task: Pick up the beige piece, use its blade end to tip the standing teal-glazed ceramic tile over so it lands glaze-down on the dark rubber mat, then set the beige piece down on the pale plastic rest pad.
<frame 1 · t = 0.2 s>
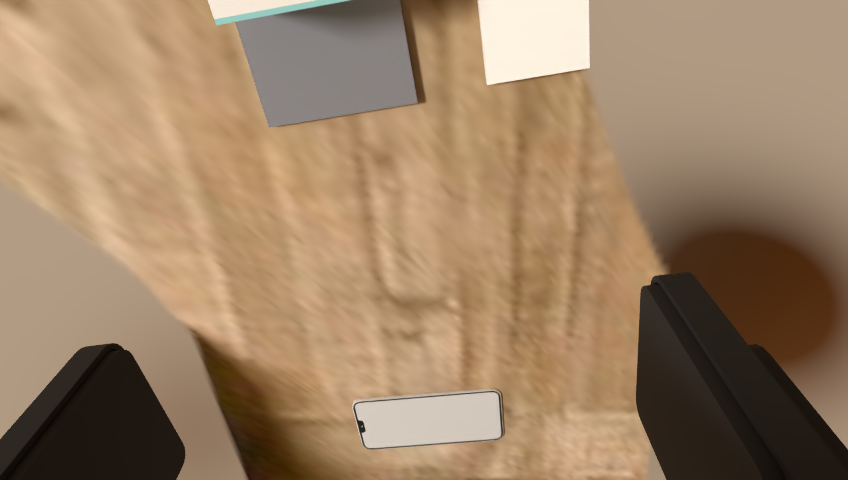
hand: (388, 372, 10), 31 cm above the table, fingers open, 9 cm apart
smartphone: (429, 415, 55), on the table
mat: (322, 26, 35), on the table
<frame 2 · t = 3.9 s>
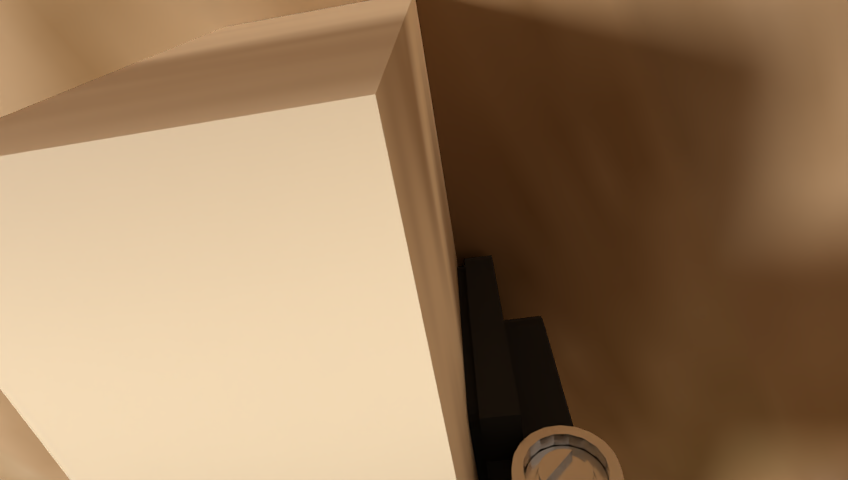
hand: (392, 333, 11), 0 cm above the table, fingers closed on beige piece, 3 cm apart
beige piece: (393, 321, 11), on the table, touching gripper
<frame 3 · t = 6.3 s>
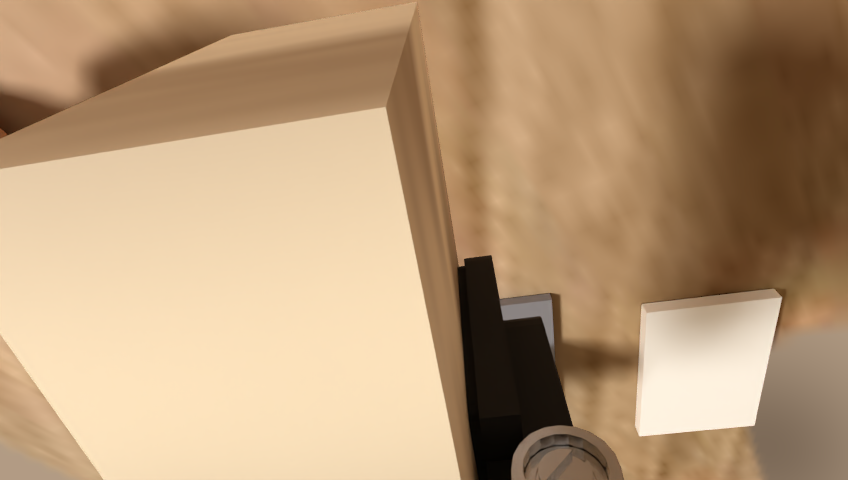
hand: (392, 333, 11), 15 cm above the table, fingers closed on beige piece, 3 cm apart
beige piece: (395, 320, 11), point 15 cm above the table, touching gripper
mat: (464, 382, 33), on the table
rest pad: (698, 363, 31), on the table
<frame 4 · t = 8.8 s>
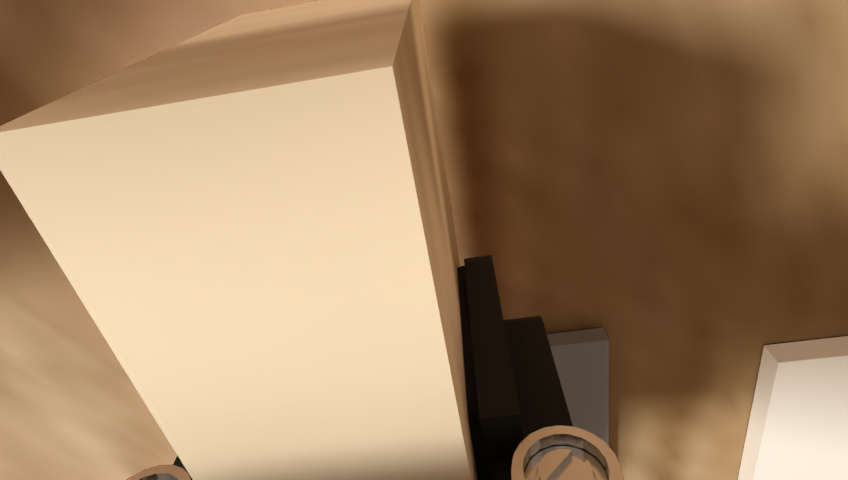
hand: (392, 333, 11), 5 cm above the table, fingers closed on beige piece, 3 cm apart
beige piece: (395, 288, 12), point 3 cm above the table, touching gripper
mat: (455, 468, 20), on the table
rest pad: (845, 440, 19), on the table
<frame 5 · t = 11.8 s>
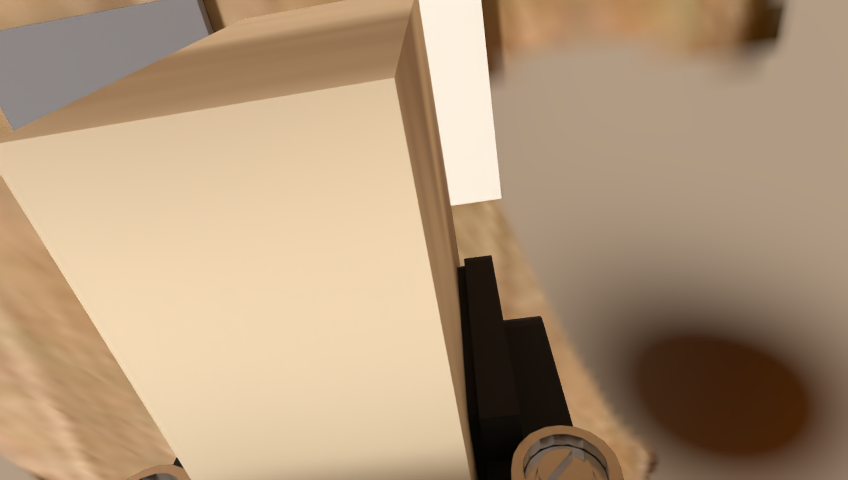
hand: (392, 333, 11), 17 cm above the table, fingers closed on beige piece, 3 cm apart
beige piece: (396, 291, 12), point 15 cm above the table, touching gripper
mat: (140, 142, 26), on the table
rest pad: (417, 108, 25), on the table
when the fingers open (3 cm above the table, at t = 14.6 s): beige piece stays where it is, resting on rest pad.
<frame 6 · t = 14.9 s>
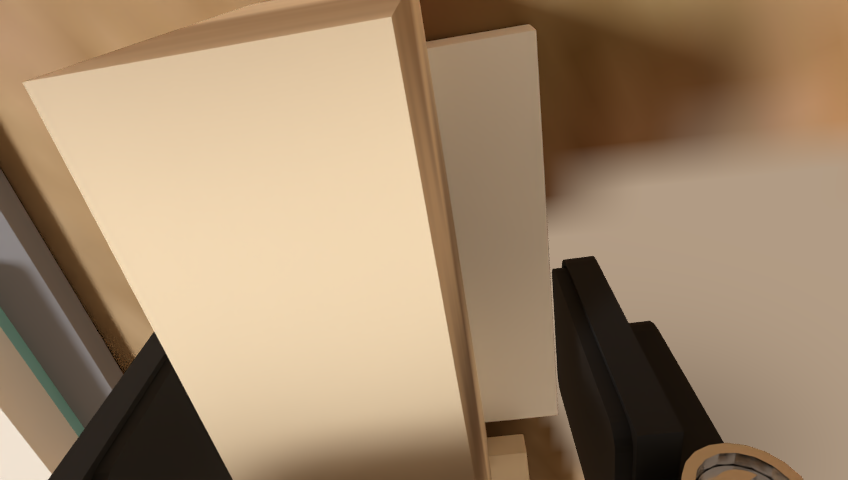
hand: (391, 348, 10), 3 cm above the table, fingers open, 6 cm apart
beige piece: (395, 272, 12), point 1 cm above the table, touching rest pad
rest pad: (400, 262, 13), on the table
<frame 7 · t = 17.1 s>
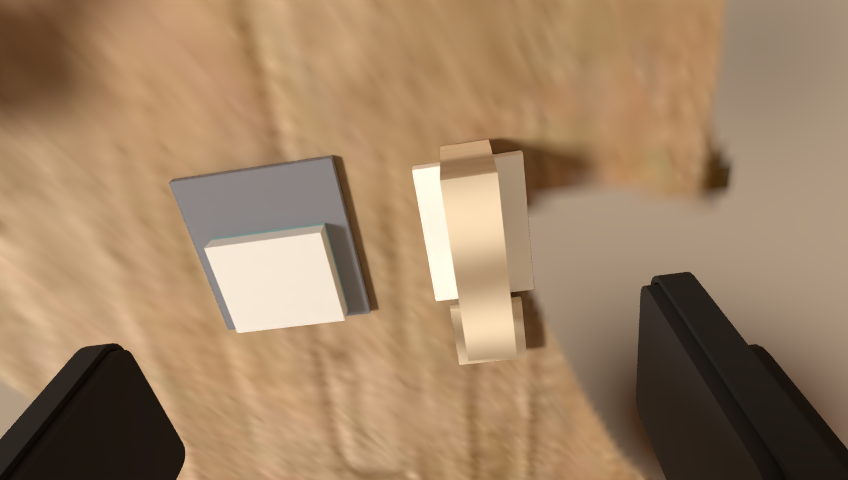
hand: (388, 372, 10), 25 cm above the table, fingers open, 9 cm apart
tile: (264, 235, 35), point 1 cm above the table, tilted 90°, touching mat
beige piece: (475, 229, 35), point 1 cm above the table, touching rest pad
mat: (277, 247, 37), on the table
rest pad: (475, 227, 36), on the table
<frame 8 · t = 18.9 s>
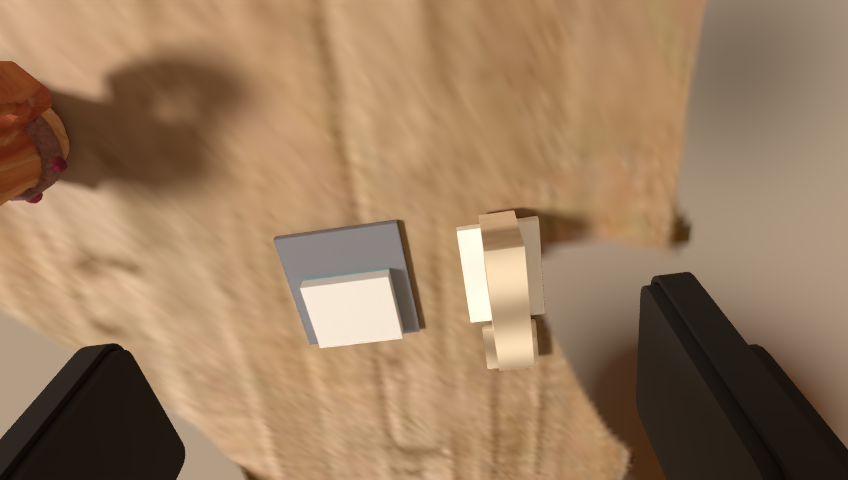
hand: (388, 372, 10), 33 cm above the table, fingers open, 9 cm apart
tile: (344, 277, 47), point 1 cm above the table, tilted 90°, touching mat
beige piece: (502, 272, 47), point 1 cm above the table, touching rest pad
mug: (49, 113, 42), on the table
mat: (351, 284, 49), on the table
rest pad: (501, 269, 48), on the table
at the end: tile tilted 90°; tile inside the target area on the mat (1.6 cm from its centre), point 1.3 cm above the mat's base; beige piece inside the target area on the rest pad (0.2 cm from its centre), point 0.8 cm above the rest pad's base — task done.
